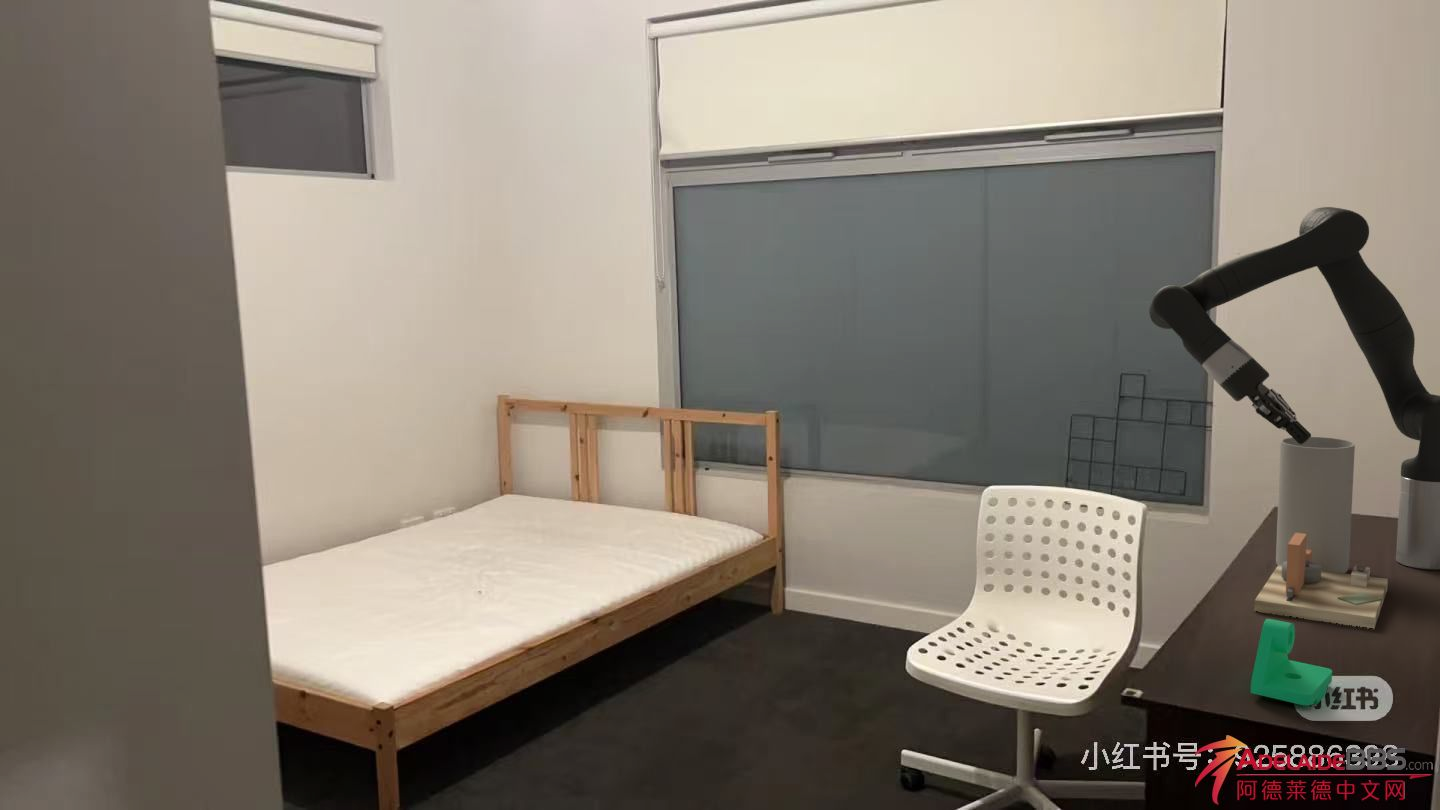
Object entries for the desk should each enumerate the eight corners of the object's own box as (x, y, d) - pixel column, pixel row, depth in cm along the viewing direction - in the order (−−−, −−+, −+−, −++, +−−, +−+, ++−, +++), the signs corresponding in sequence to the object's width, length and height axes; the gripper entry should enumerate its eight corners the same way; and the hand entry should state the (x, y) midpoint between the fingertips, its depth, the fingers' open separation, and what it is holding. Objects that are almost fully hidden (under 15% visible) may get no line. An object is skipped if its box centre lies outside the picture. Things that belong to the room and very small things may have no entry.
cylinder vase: (1352, 580, 204) (1359, 449, 200) (1278, 574, 209) (1283, 446, 205) (1344, 562, 215) (1350, 437, 212) (1273, 557, 220) (1278, 435, 217)
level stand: (1277, 575, 209) (1278, 546, 208) (1388, 589, 198) (1390, 559, 197) (1254, 611, 189) (1255, 580, 189) (1375, 629, 179) (1377, 596, 178)
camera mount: (1309, 714, 149) (1312, 642, 148) (1250, 700, 154) (1252, 630, 153) (1333, 686, 158) (1336, 618, 156) (1276, 674, 163) (1279, 608, 162)
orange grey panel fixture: (1286, 567, 205) (1288, 521, 204) (1324, 572, 202) (1327, 525, 200) (1268, 595, 190) (1270, 545, 189) (1310, 601, 186) (1312, 550, 185)
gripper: (1243, 360, 194) (1318, 432, 189) (1257, 352, 205) (1328, 421, 200) (1211, 388, 198) (1283, 460, 193) (1226, 379, 209) (1295, 447, 204)
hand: (1306, 440), depth 196 cm, fingers closed
